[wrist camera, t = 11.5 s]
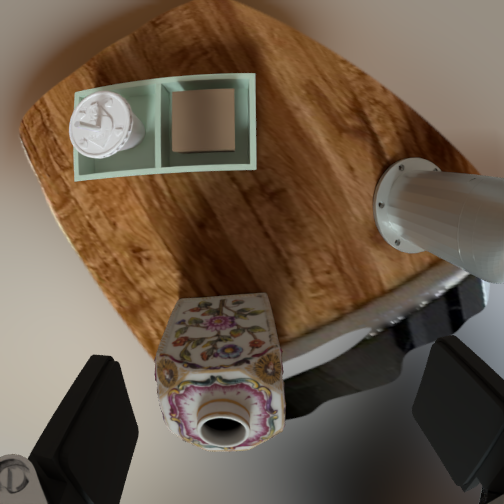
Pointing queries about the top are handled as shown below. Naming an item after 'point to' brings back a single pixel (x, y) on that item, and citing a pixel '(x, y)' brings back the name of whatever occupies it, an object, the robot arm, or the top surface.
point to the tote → (160, 129)
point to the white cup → (104, 125)
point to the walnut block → (203, 121)
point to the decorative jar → (221, 372)
